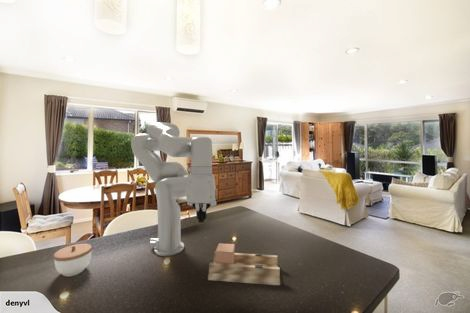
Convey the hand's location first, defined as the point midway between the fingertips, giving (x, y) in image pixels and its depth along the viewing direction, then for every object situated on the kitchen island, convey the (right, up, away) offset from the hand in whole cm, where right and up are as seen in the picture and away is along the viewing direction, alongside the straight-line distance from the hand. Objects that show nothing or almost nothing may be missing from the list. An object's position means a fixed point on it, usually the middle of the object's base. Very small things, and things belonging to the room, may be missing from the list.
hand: (201, 221), depth 76 cm
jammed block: (+9, -16, 0) cm, 19 cm away
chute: (+16, -18, -1) cm, 24 cm away
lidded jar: (-46, -18, -1) cm, 49 cm away
